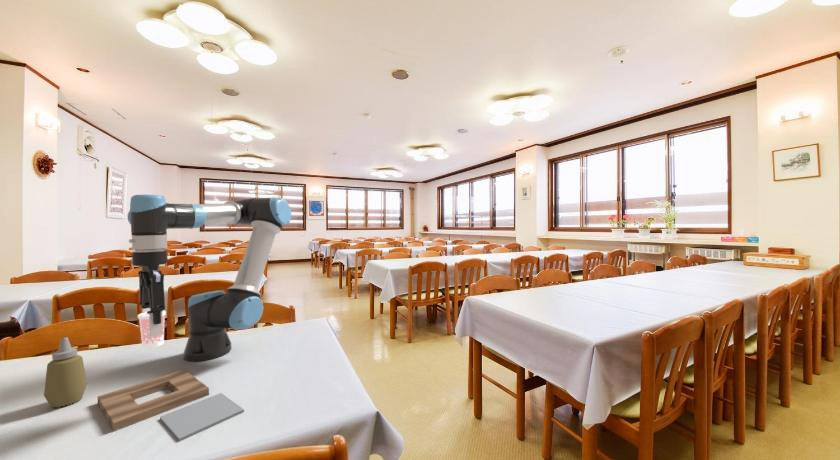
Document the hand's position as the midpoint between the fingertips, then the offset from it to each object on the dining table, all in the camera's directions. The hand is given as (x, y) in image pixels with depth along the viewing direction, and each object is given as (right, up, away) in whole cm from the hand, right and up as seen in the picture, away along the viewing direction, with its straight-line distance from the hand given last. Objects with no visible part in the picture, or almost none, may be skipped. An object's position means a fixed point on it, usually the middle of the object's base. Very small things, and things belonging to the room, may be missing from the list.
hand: (152, 332), depth 90 cm
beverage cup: (0, -4, 0) cm, 4 cm away
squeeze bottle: (-23, -19, -1) cm, 30 cm away
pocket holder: (0, -19, 0) cm, 19 cm away
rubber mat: (+19, -19, -8) cm, 28 cm away
